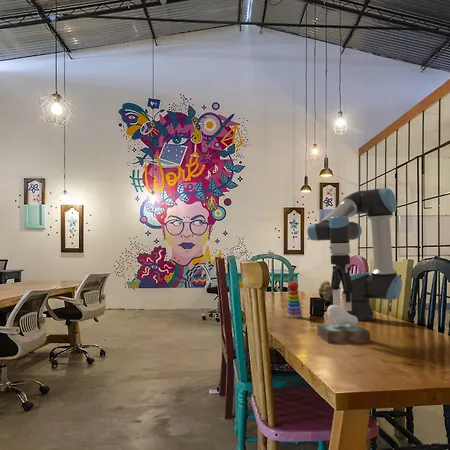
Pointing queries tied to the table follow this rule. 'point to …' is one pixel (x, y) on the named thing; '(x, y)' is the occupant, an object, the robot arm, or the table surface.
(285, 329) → the table surface
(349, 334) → the square wooden tray
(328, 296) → the owl figurine
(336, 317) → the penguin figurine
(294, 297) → the stacking toy
